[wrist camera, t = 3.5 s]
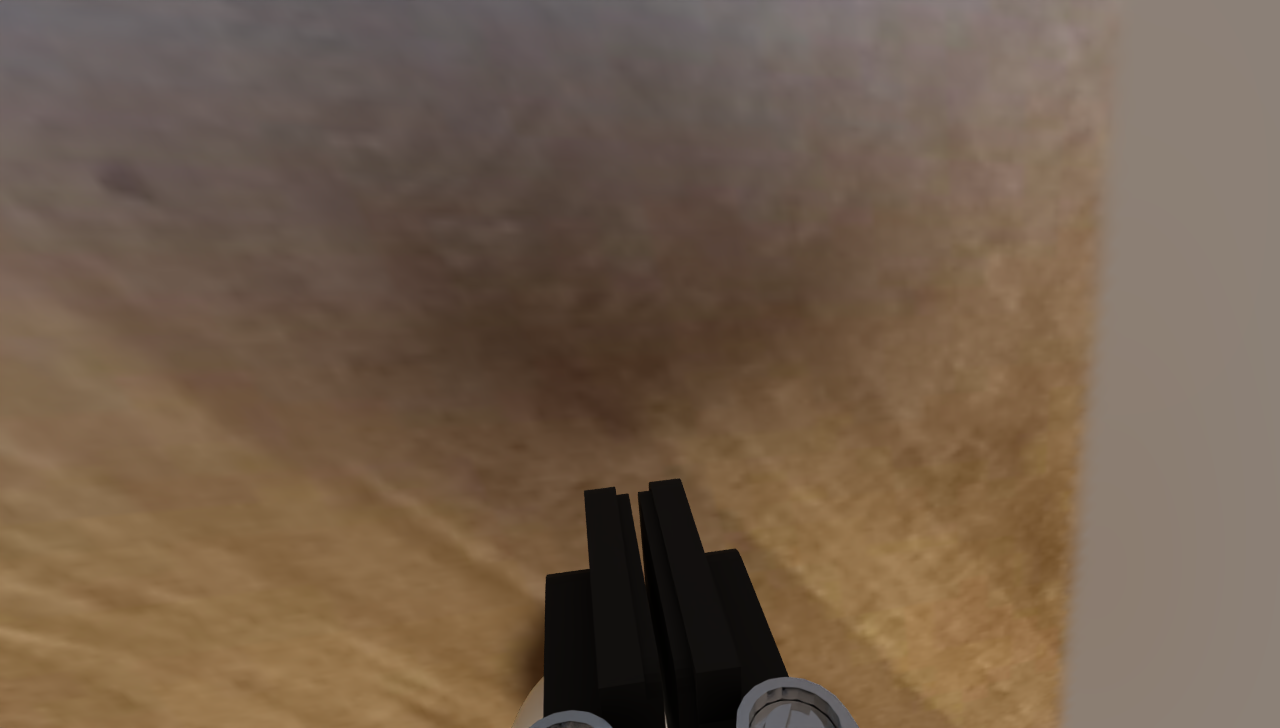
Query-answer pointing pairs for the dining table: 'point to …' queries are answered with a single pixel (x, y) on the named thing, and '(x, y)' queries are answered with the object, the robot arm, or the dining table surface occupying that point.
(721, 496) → the dining table surface
